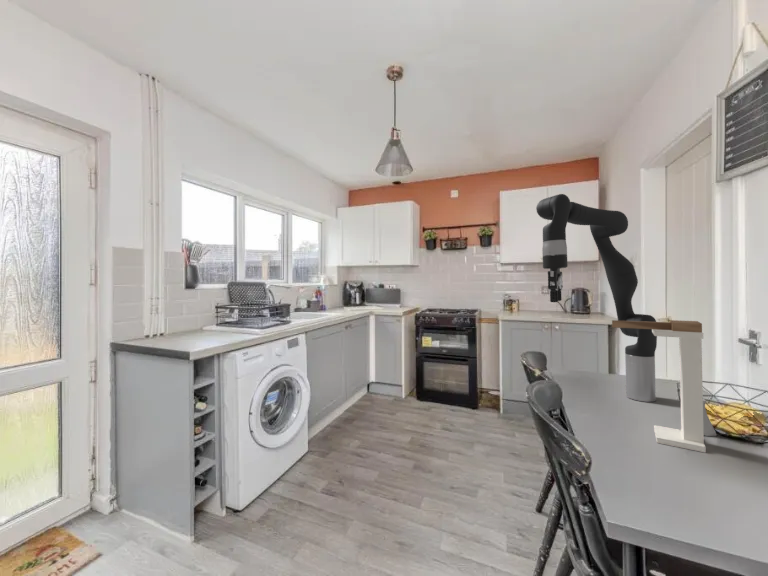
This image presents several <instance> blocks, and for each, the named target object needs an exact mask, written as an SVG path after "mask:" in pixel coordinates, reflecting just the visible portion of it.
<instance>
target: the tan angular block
mask: <svg viewBox="0 0 768 576" xmlns="http://www.w3.org/2000/svg"><path fill="white" fill-rule="evenodd" d="M611 327H612V328H613V329H614V328H617V329H620V328H636V329H658V330H672V331H682V332H702V333H703V324H702V322H700V321H698V320H676V319H675V320H674V319H673V320H672V319H670V320H669V321H656V322H646V321H618V319H615V320H611Z"/></svg>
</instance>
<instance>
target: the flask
mask: <svg viewBox="0 0 768 576" xmlns="http://www.w3.org/2000/svg"><path fill="white" fill-rule="evenodd" d="M706 403H707V400H706V399H705V398H703V433H704V436H706V437H712V436H717V433H716V431H715V428H714V426H713V425H712V422H711V419H710V418H709V416H708V415H709V414H707V410H706Z"/></svg>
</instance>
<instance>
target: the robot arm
mask: <svg viewBox="0 0 768 576" xmlns="http://www.w3.org/2000/svg"><path fill="white" fill-rule="evenodd" d="M535 210H536V214H538V216H539V217H540V218H542V219H543V220H546V221H547V220H548V221H550V222H549V223H548V224H546V225H544V226H543V228H542V250H541V253H542V254H541V255H542V268H543V269H544V270H548V271H547V288H548V291H549V297H550V298H549V300H550V301H549V302H550V303H558V302H561V301H562V290H563V287H564V286H563V272H562V271H561V269H566V268H568V245H567V234H566V228H567V225H568V223H569V224H572V225H577V226H589V229H590V232H591V233H590V234H591V235H592V238H593V240H594V243H595V245H596V247H597V250H598V252H599V254H600V257H601V260H602V264H603V268H604V271H605V275H606V279H607V282H608V284H609V286H610V287H609V288H610V290H611V293H612V294H611V295H612V298H613V302H614V306H615V310H616V311H615V312H616V316H617V321H646V322H657V320H656V318H655V317H654V316H653V315H651V314H643V313H642V314H640V313H635V312H634V309H633V305H632V300H633V296H634V294H635V292H636V290H637V287H638V283H639V281H638V276H637V272H636V270H635V266H634V265H633V263H632V262H631V261H630V260H629V259H628V258H627V257H625V256H624V255H623V254H622V253H621V252H619V250H617V248H615V246H614V244H613V243H612V241H611V238H610V237H615V236H619V235H622V234H624V233H625V232H626V231H627V230H628V227H629V220H628V217H627V215H626V214H625V213H623V212H622V211H620V210H612V209H611V210H610V209H609V210H608V209H601V208H595V207H591V206H587V205H585V204H581V203H577V202H575V201H571V200H570V198H569V196H567V195H566V194H564V193H559V194H555V195H552V196H550V197H546V198H542V199H541V200H539V202H538V203H537V205H536V209H535ZM619 329H620V332H621V333H622V334H623V335H625V336H627V337H633V338H637V340H636V343H635V344H631V345H630V344H629V345H627V346H625V348H624V355H625V356H624V357H625V358H624V359H625V363H624V364H625V396H626V397H627V398H628V399H631V400H635V401H639V402H651V403H652V402H656V401H657V400H656V399H657V395H656V394H657V392H656V389H657V387H656V356H655V355H656V350H657V346H658V345H657V344H658V343H657V341H658V336H654V334H653V332H652V329H636V328H619Z"/></svg>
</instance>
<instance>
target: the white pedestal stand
mask: <svg viewBox="0 0 768 576" xmlns="http://www.w3.org/2000/svg"><path fill="white" fill-rule="evenodd" d="M652 332H653V334H654V336H657V337H665V338H666V337H667V338H678V339H679V340H678V341H679V342H678V343H679V344H678V345H679V389H680V392H679V393H680V429H678V428H672V427H666V426H663V425H662V426H661V425H655V424H653V431H654V435H655V440H656V443H657V444H662V445H666V446H672V447H676V448H681V449H686V450H691V451H696V452H701V453H704V454H705V453H706V452H707V451H706V450H707V449H706V445H705V442H704V438H705V437H704V436H705V435H704V433H703V399H704V397H703V389H704V387H703V351H702V350H703V348H702V342H703V341H702V339H704V333H703V331H702V332H682V331H672V330H658V329H652Z"/></svg>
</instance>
